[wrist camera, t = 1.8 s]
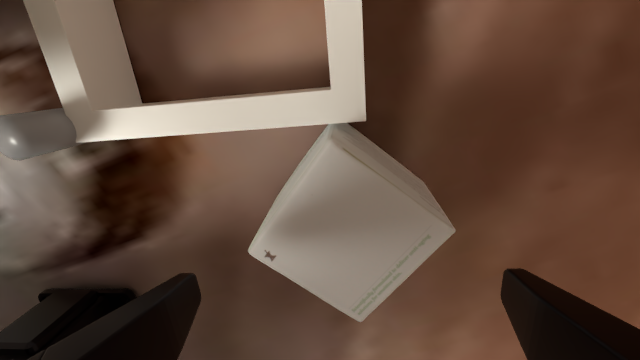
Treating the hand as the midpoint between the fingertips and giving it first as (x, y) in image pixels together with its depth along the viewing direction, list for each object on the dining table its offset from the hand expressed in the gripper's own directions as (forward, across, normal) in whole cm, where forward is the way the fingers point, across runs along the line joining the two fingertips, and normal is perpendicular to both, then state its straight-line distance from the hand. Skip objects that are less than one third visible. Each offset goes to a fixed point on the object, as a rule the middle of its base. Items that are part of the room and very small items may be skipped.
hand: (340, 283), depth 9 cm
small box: (+7, 0, 0) cm, 7 cm away
